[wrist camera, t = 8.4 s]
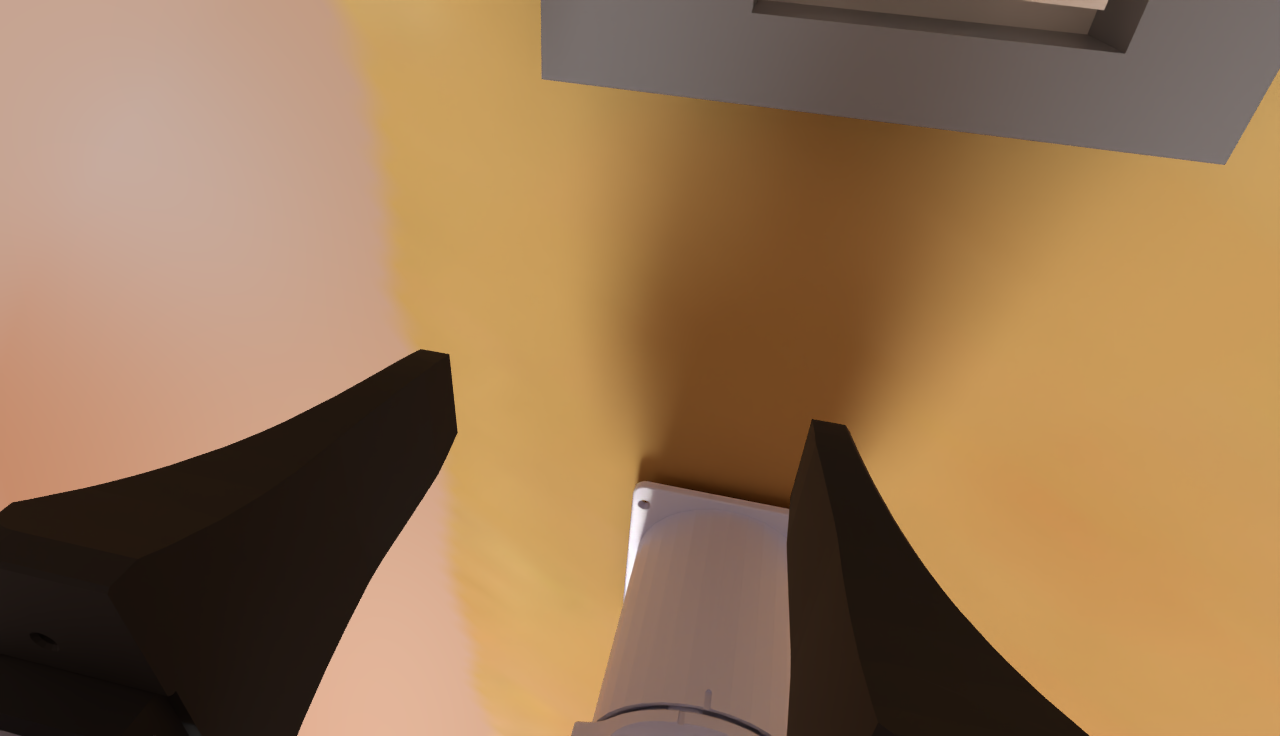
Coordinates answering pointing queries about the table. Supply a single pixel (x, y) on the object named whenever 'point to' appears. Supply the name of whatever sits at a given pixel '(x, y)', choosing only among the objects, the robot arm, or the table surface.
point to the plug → (1077, 3)
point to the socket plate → (945, 63)
